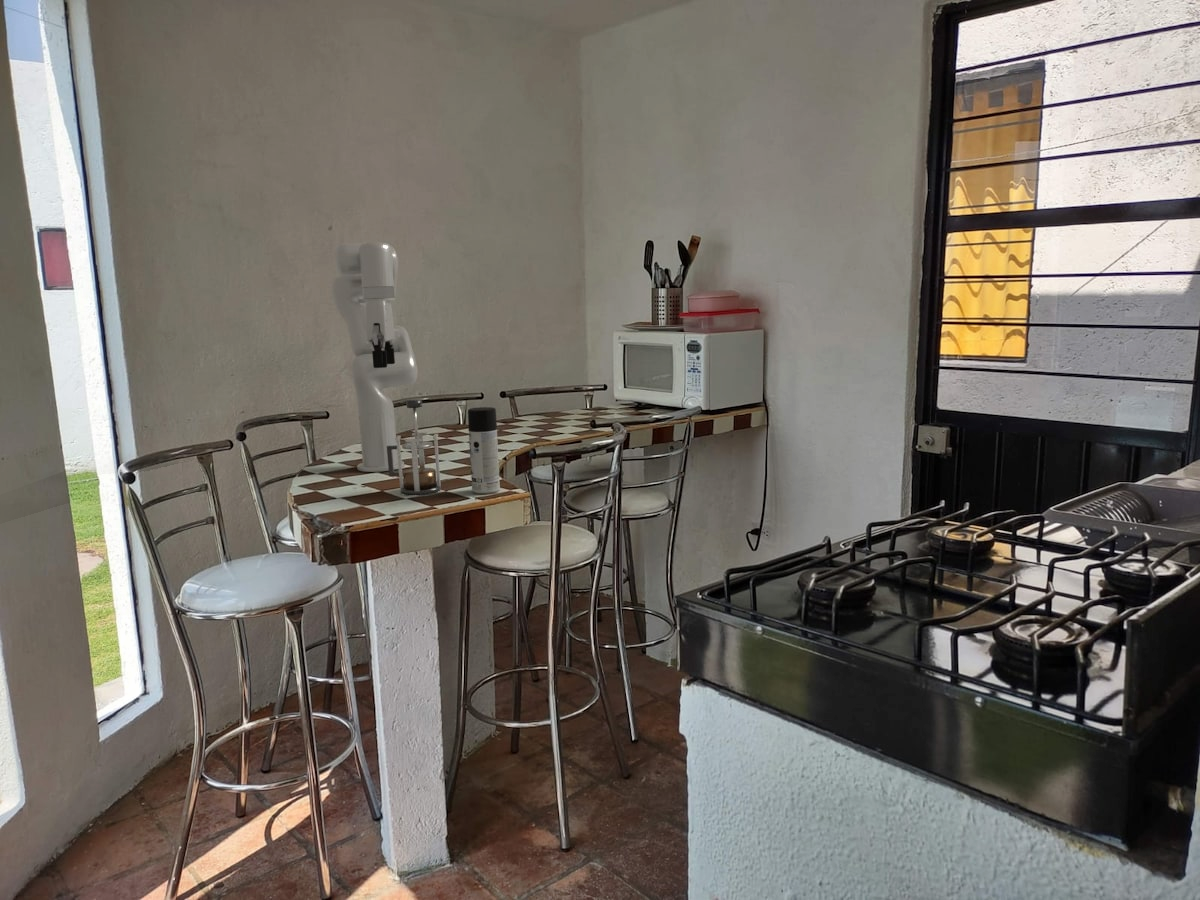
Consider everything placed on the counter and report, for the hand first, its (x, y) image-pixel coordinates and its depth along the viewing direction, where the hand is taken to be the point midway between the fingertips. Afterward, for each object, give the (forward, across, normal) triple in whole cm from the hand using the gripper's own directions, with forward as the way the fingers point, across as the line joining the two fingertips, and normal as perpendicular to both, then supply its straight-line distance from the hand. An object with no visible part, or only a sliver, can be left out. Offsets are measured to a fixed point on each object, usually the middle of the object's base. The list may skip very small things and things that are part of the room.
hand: (384, 365), depth 214 cm
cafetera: (+30, +9, +7) cm, 32 cm away
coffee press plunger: (+19, +9, +8) cm, 23 cm away
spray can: (+30, +12, +24) cm, 41 cm away
